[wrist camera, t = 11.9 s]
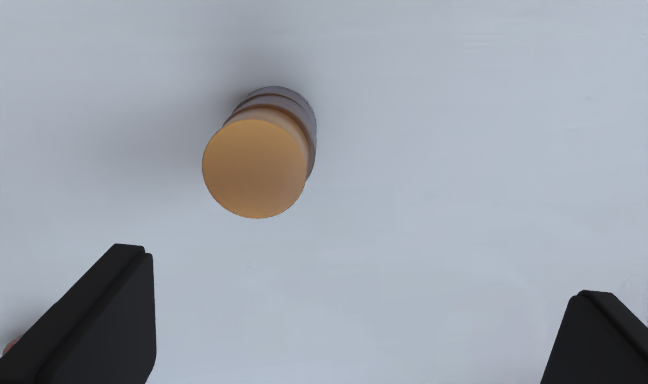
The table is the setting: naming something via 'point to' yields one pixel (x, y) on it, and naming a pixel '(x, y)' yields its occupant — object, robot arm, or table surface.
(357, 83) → the table surface
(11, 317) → the table surface
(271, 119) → the copper brown cylinder
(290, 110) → the pile chip top
